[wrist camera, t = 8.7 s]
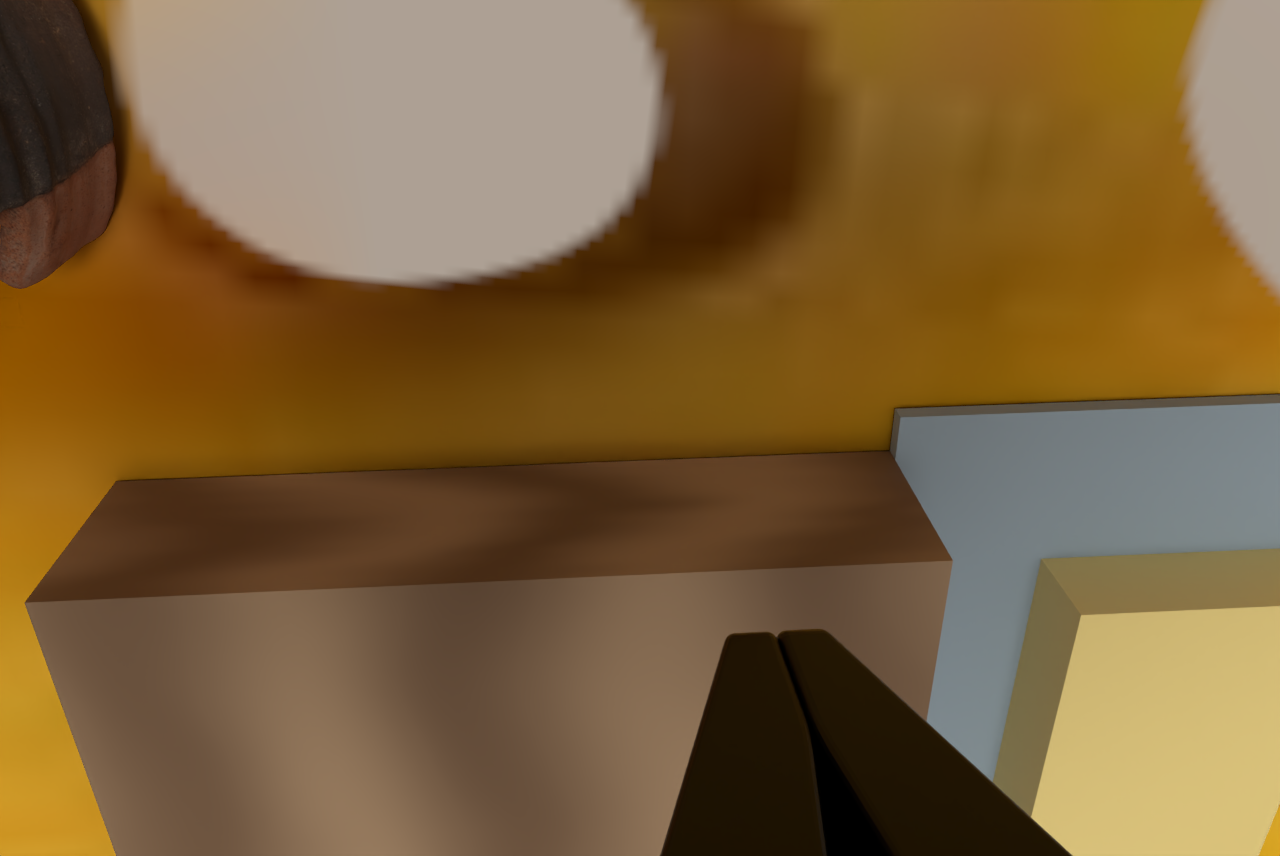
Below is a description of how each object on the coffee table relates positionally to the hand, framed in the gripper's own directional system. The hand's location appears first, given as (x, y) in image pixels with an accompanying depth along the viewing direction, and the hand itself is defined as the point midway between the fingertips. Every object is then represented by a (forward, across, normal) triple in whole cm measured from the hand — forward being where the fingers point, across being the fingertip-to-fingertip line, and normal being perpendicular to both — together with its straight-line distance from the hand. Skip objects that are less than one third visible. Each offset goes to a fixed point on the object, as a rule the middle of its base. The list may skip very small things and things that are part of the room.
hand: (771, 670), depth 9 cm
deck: (+12, +3, +12) cm, 17 cm away
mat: (+12, -10, +12) cm, 19 cm away
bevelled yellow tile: (+10, -11, +12) cm, 19 cm away
